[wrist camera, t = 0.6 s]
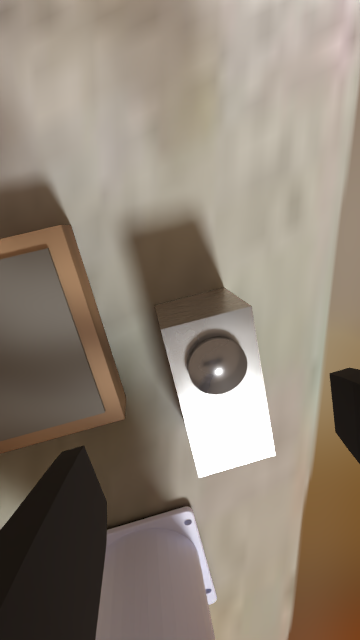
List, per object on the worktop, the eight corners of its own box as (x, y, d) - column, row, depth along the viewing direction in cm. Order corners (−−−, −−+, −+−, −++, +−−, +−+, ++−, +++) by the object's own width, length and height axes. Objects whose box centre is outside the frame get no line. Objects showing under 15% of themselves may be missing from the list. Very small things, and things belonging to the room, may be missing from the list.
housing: (245, 406, 20) (278, 460, 15) (185, 423, 20) (200, 483, 15) (223, 286, 18) (255, 308, 13) (154, 304, 17) (161, 332, 13)
